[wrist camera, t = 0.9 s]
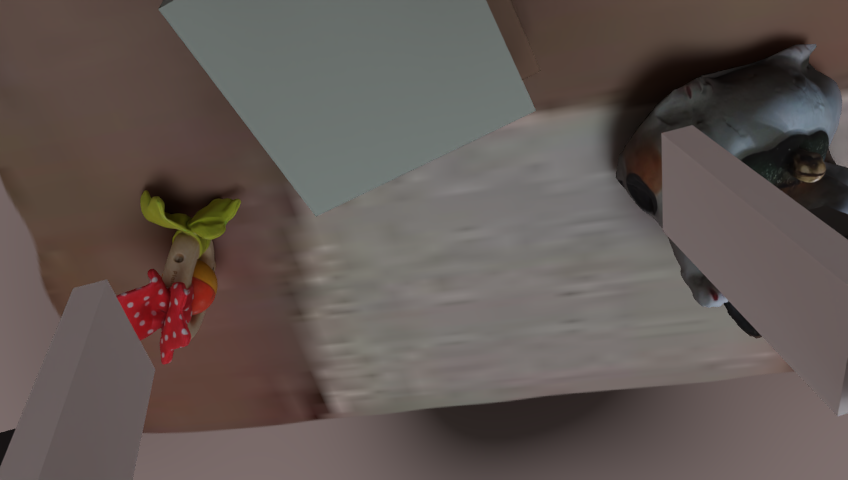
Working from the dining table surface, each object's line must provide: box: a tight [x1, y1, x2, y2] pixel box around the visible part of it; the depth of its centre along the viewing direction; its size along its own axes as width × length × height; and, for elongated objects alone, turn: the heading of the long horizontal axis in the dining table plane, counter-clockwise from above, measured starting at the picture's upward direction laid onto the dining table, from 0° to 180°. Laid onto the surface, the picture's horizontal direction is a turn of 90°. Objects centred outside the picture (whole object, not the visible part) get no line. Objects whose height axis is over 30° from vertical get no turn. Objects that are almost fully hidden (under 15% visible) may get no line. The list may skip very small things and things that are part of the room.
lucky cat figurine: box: [616, 44, 848, 338], centre depth 43 cm, size 15×12×14 cm
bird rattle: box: [116, 191, 241, 364], centre depth 44 cm, size 6×11×9 cm
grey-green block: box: [159, 0, 536, 216], centre depth 33 cm, size 12×12×5 cm
